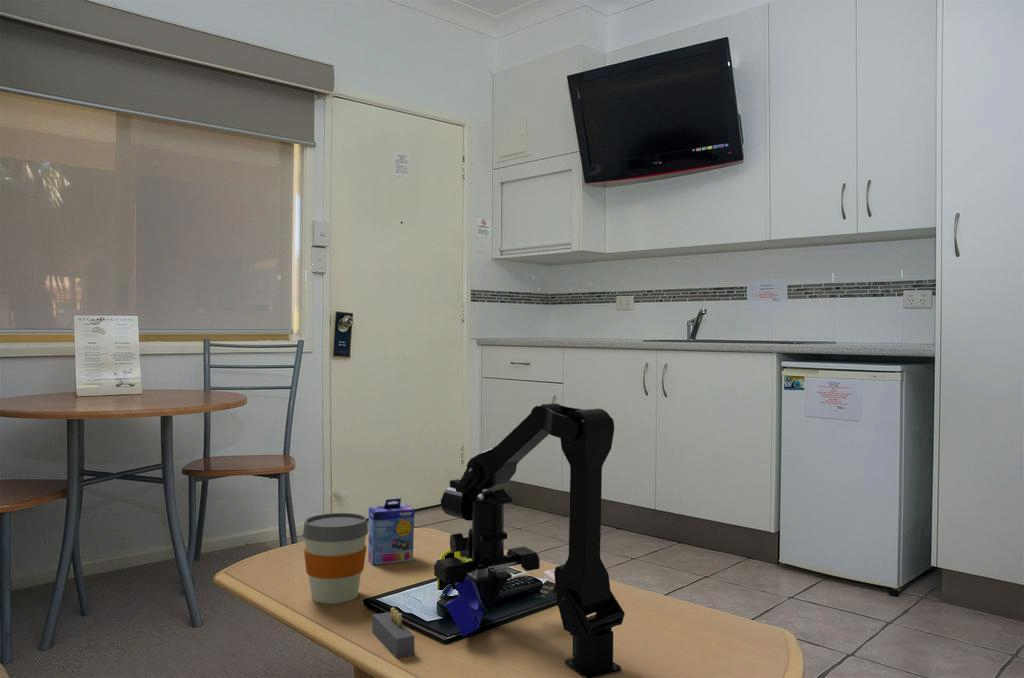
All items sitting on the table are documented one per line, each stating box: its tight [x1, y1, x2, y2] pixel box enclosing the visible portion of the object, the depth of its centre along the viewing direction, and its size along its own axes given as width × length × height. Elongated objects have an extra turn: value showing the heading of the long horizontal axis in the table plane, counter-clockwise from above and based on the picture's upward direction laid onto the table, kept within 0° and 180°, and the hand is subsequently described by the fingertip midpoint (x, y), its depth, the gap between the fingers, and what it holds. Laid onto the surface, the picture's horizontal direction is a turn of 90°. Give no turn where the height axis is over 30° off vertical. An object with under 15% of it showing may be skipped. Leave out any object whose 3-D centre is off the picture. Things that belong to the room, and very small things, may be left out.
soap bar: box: [543, 568, 555, 583], centre depth 155 cm, size 5×9×2 cm, turn 21°
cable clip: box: [445, 577, 485, 637], centre depth 130 cm, size 12×4×6 cm, turn 176°
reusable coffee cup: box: [302, 512, 369, 604], centre depth 146 cm, size 13×13×15 cm
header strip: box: [371, 607, 415, 659], centre depth 123 cm, size 12×3×5 cm, turn 29°
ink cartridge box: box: [367, 498, 415, 566], centre depth 171 cm, size 10×6×14 cm, turn 115°
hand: (487, 612), depth 133 cm, fingers closed
